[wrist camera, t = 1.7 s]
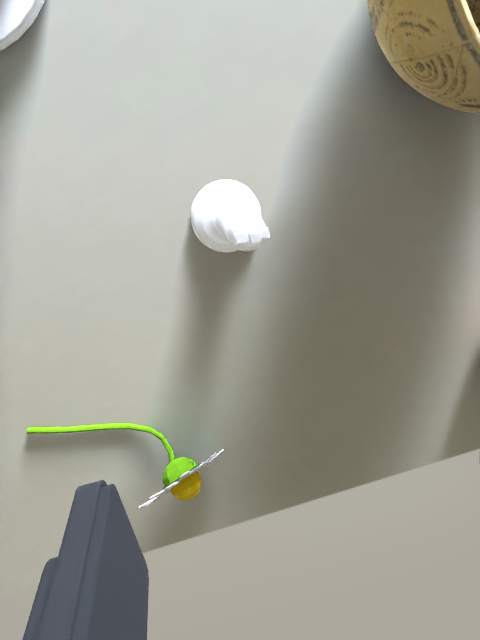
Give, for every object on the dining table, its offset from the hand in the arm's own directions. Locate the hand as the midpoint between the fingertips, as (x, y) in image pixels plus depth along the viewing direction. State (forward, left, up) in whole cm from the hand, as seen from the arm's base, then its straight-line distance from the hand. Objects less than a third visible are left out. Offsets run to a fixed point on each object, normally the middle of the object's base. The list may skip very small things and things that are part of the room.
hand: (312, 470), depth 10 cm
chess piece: (-4, +2, -22) cm, 22 cm away
